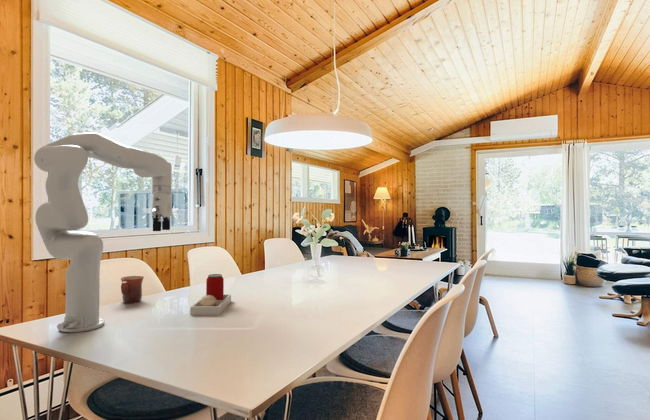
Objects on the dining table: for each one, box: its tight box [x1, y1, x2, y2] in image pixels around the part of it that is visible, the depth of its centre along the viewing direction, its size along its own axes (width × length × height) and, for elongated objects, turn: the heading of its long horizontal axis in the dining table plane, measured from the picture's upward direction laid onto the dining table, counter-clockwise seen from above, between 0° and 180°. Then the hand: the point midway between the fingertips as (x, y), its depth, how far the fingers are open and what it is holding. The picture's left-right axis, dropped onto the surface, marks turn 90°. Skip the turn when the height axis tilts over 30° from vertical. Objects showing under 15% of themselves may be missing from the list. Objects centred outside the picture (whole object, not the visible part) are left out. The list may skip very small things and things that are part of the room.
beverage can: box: [205, 273, 225, 300], centre depth 153 cm, size 7×7×12 cm
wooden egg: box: [201, 295, 217, 306], centre depth 143 cm, size 6×6×6 cm
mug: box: [120, 275, 145, 304], centre depth 157 cm, size 12×9×10 cm
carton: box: [189, 294, 232, 316], centre depth 148 cm, size 20×11×4 cm, turn 2°
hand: (161, 230), depth 160 cm, fingers open, 9 cm apart
